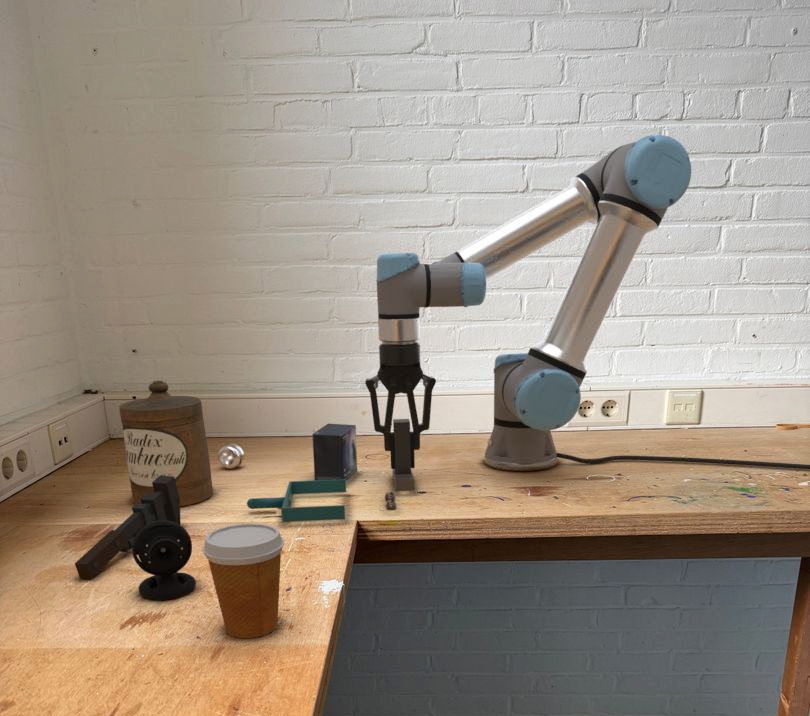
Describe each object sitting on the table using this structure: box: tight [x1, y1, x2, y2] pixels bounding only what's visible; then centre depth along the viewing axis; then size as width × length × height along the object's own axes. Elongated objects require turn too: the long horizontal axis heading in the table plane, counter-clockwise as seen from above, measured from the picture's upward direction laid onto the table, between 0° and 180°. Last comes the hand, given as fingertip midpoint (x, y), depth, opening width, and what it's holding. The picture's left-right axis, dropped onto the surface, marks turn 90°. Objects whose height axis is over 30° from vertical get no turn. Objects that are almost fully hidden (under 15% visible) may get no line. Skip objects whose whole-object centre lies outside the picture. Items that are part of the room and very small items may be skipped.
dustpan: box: [246, 479, 347, 523], centre depth 142 cm, size 17×17×3 cm
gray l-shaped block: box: [392, 418, 415, 492], centre depth 153 cm, size 4×12×13 cm, turn 3°
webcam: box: [131, 520, 197, 601], centre depth 108 cm, size 8×8×10 cm
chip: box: [384, 491, 396, 503], centre depth 145 cm, size 2×4×2 cm, turn 3°
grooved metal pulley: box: [217, 443, 245, 470], centre depth 172 cm, size 5×3×5 cm, turn 71°
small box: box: [312, 423, 358, 482], centre depth 159 cm, size 11×6×10 cm, turn 168°
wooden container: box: [118, 380, 214, 507], centre depth 149 cm, size 15×15×22 cm
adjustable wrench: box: [74, 476, 182, 580], centre depth 125 cm, size 8×3×25 cm
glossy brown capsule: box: [385, 499, 397, 511], centre depth 140 cm, size 2×4×2 cm, turn 3°
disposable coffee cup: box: [201, 522, 285, 639], centre depth 96 cm, size 10×10×12 cm
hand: (402, 466), depth 154 cm, fingers closed on gray l-shaped block, 3 cm apart
